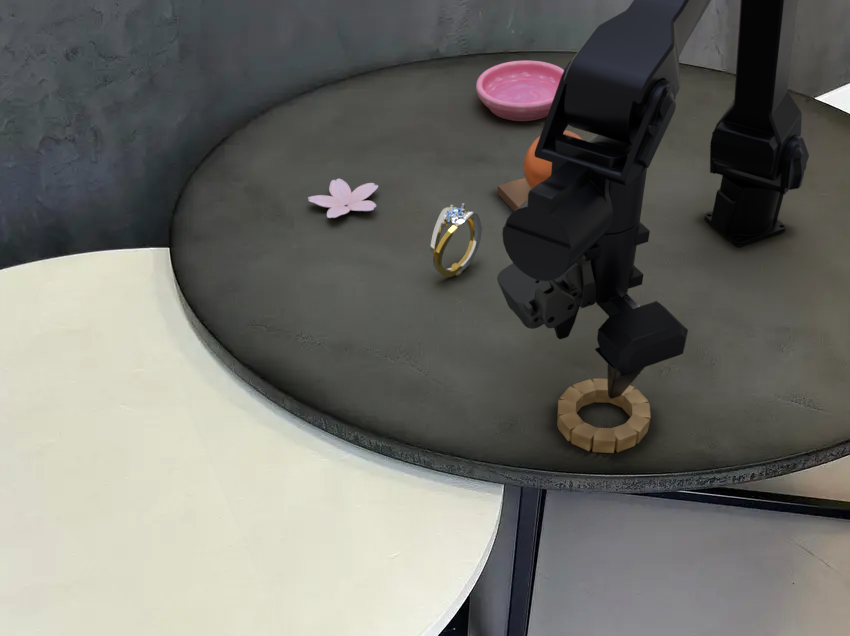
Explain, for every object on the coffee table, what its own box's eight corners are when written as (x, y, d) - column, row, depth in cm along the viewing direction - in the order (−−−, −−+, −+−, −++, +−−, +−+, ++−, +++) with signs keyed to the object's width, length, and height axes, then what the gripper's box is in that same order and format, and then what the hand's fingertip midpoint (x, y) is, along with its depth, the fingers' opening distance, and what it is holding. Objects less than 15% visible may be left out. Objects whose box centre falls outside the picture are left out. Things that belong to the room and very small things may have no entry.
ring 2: (617, 381, 94) (619, 368, 93) (665, 435, 89) (668, 422, 88) (541, 407, 92) (542, 395, 91) (586, 464, 87) (587, 451, 86)
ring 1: (443, 293, 105) (441, 228, 99) (423, 281, 106) (419, 215, 100) (490, 265, 108) (490, 200, 102) (469, 253, 109) (468, 188, 103)
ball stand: (571, 172, 119) (576, 103, 113) (615, 212, 113) (623, 142, 106) (497, 194, 117) (498, 125, 110) (537, 236, 111) (541, 166, 104)
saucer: (575, 125, 126) (577, 101, 124) (478, 130, 127) (478, 106, 125) (565, 80, 135) (567, 57, 132) (474, 85, 135) (474, 62, 133)
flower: (360, 239, 112) (359, 227, 111) (288, 219, 116) (286, 208, 115) (402, 196, 118) (402, 184, 117) (332, 179, 121) (330, 167, 120)
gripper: (460, 185, 82) (463, 334, 94) (573, 308, 70) (560, 460, 82) (578, 151, 84) (566, 300, 96) (706, 264, 73) (675, 418, 84)
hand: (587, 366), depth 90 cm, fingers open, 9 cm apart
